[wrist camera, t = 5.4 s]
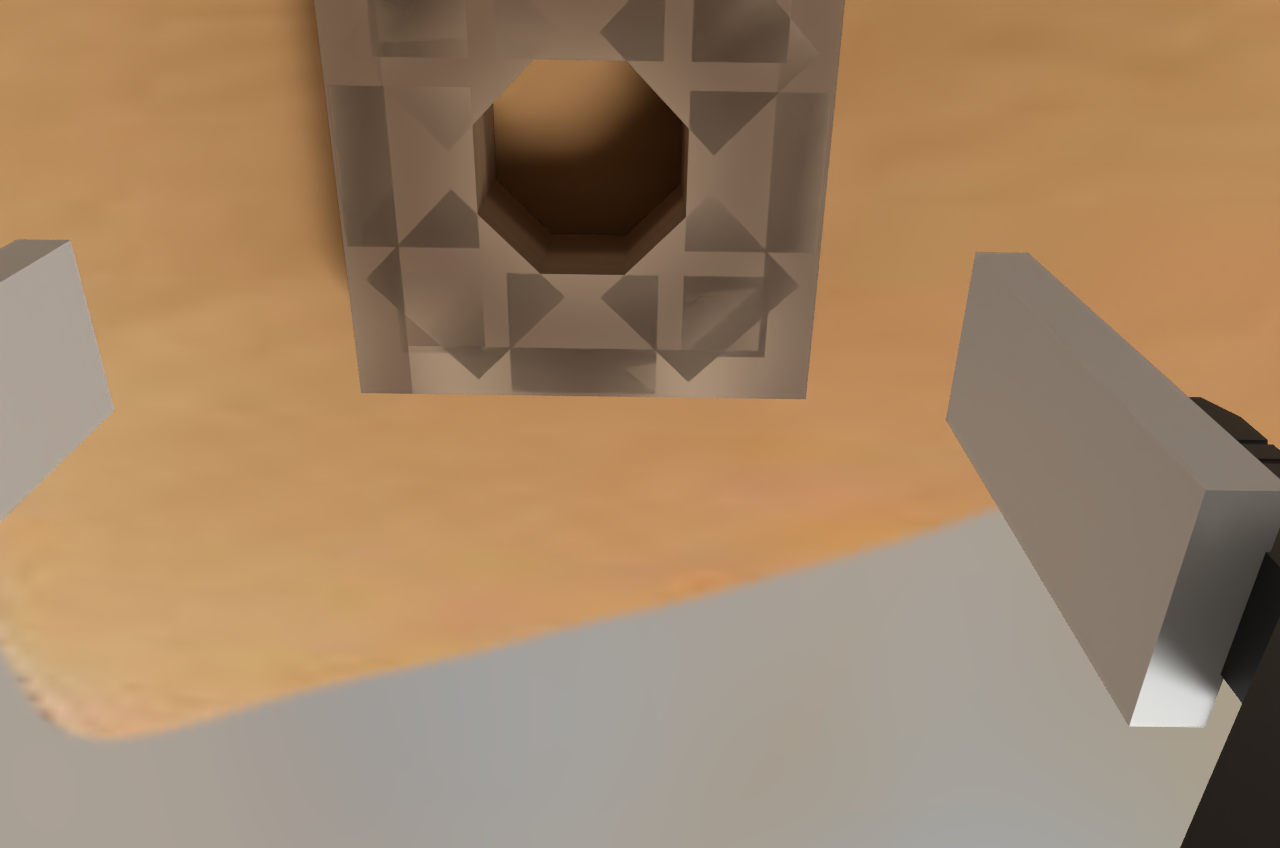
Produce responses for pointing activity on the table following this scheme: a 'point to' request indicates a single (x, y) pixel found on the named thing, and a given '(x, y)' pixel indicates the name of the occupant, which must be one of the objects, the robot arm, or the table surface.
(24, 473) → the robot arm
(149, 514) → the table surface
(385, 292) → the socket block
